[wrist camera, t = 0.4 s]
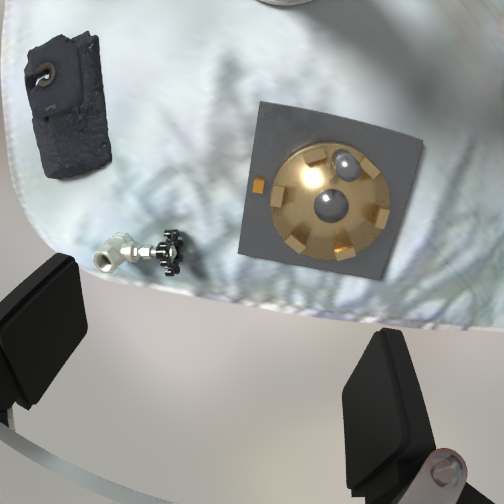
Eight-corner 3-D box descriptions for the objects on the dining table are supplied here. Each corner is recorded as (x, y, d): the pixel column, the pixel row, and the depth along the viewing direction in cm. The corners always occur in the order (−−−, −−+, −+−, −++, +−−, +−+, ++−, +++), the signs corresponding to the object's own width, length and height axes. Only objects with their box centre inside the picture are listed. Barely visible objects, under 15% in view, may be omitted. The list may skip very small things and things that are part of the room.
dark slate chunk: (47, 180, 44) (28, 190, 40) (28, 58, 34) (8, 59, 30) (119, 166, 42) (101, 175, 37) (100, 23, 32) (80, 19, 27)
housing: (261, 101, 35) (259, 101, 33) (418, 138, 34) (426, 141, 32) (239, 248, 45) (236, 257, 42) (376, 273, 44) (380, 284, 41)
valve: (118, 260, 49) (186, 261, 47) (98, 282, 43) (171, 286, 41) (108, 222, 46) (179, 220, 44) (86, 241, 40) (162, 241, 38)
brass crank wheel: (366, 259, 41) (377, 291, 34) (263, 239, 41) (256, 268, 35) (396, 157, 34) (418, 172, 27) (281, 130, 35) (278, 139, 28)
